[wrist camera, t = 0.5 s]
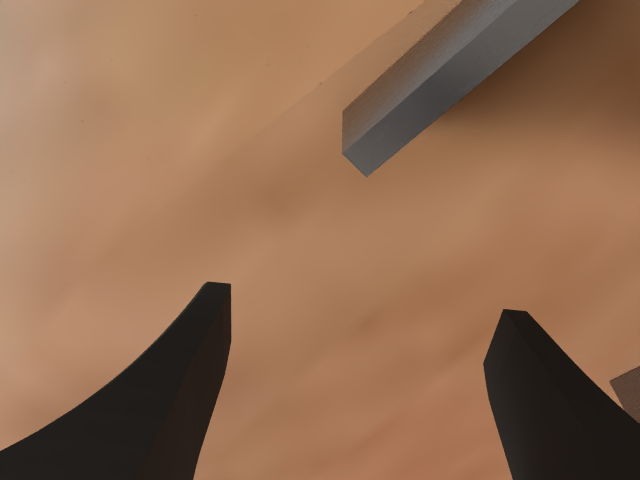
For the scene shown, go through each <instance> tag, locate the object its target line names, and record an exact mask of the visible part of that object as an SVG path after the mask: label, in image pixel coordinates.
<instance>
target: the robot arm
mask: <svg viewBox="0 0 640 480" xmlns="http://www.w3.org/2000/svg"><path fill="white" fill-rule="evenodd" d="M230 345H231V284H228V283H217V282H207V283H205V284H204V285H203V286H202V287H201V289H200V290H199V291H198V293H197V294H196V295H195V297H194V298H193V299H192V300H191V302H190V303H189V304H188V305H187V306H186V308H185V309H184V310H183V311H182V312H181V314H180V315H179V316H178V317H177V318H176V319H175V320H174V321H173V323H172V324H171V325H170V326H169V327H168V328H167V329H166V330H165V331H164V332H163V334H162V335H161V336H160V337H159V338H158V339H157V340H156V341H155V342H154V343H153V344H152V345H151V346H150V347H149V348H148V349H147V350H145V351H144V352H143V353H142V354H141V355H140V356H139V357H138V358H137V359H136V360H135V361H134V362H133V363H132V364H131V365H129V366H128V367H127V368H126V369H125V370H124V371H122V372H121V373H120V374H119V375H118V376H116V377H115V378H114V379H113V380H112V381H110V382H109V383H108V384H107V385H105V386H104V387H103V388H101V389H100V390H99V391H97V392H96V393H95V394H93V395H92V396H91V397H89V398H88V399H87V400H85V401H84V402H82V403H81V404H79V405H78V406H77V407H75V408H74V409H72V410H71V411H69V412H67V413H66V414H64V415H63V416H61V417H60V418H58V419H56V420H55V421H53V422H52V423H50V424H48V425H47V426H45V427H44V428H42V429H40V430H39V431H37V432H35V433H33V434H32V435H30V436H28V437H26V438H24V439H23V440H21V441H19V442H17V443H15V444H13V445H11V446H9V447H7V448H5V449H4V450H2V451H0V480H193V478H194V473H195V469H196V465H197V461H198V457H199V454H200V450H201V447H202V444H203V441H204V438H205V435H206V432H207V429H208V425H209V422H210V419H211V416H212V413H213V410H214V407H215V404H216V401H217V398H218V394H219V391H220V388H221V385H222V382H223V379H224V375H225V370H226V366H227V361H228V355H229V350H230ZM483 365H484V372H485V379H486V386H487V391H488V397H489V401H490V405H491V408H492V412H493V415H494V419H495V422H496V425H497V429H498V432H499V435H500V439H501V442H502V445H503V448H504V452H505V455H506V458H507V462H508V465H509V468H510V471H511V475H512V478H513V480H640V423H638V422H637V421H636V420H635V419H634V418H632V417H631V416H630V415H629V414H628V413H626V412H625V411H624V410H623V409H622V408H621V407H620V406H618V405H617V404H616V403H615V402H614V401H613V400H612V399H611V398H610V397H609V396H608V395H607V394H606V393H604V392H603V391H602V390H601V389H600V388H599V387H598V386H597V385H596V384H595V383H594V382H593V381H592V380H591V379H590V378H589V377H588V376H587V375H586V374H585V373H584V372H583V371H582V370H581V369H580V368H579V367H578V366H577V365H576V364H575V363H574V362H573V361H572V360H571V359H570V358H569V357H568V355H567V354H566V353H565V352H564V351H563V350H562V349H561V348H560V347H559V346H558V345H557V344H556V343H555V341H554V340H553V339H552V338H551V337H550V336H549V335H548V334H547V333H546V332H545V331H544V329H543V328H542V327H541V326H540V325H539V324H538V323H537V322H536V321H535V320H534V319H533V318H532V317H531V315H530V314H529V313H528V312H527V311H518V310H508V309H503V312H502V314H501V317H500V320H499V322H498V325H497V328H496V330H495V333H494V336H493V339H492V341H491V344H490V347H489V349H488V352H487V355H486V357H485V360H484V363H483Z"/></svg>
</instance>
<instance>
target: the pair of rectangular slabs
mask: <svg viewBox="0 0 640 480" xmlns="http://www.w3.org/2000/svg"><path fill="white" fill-rule="evenodd" d="M578 1H580V0H463V1H462V2H461V3H460V4H459V5H457V6H456V7H455V8H454V9H453V10H452V11H451V12H450V13H449V14H448V15H447V16H446V17H444V18H443V19H442V20H441V21H440V22H439V23H438V24H437V25H436V26H435V27H434V28H433V29H431V30H430V31H429V32H428V33H427V34H426V35H425V36H424V37H423V38H422V39H421V40H420V41H418V42H417V43H416V44H415V45H414V46H413V47H412V48H411V49H410V50H409V51H408V52H406V53H405V54H404V55H403V56H402V57H401V58H400V59H399V60H398V61H397V62H396V63H395V64H393V65H392V66H391V67H390V68H389V69H388V70H387V71H386V72H385V73H384V74H383V75H382V76H380V77H379V78H378V79H377V80H376V81H375V82H374V83H373V84H372V85H371V86H370V87H369V88H367V89H366V90H365V91H364V92H363V93H362V94H361V95H360V96H359V97H358V98H357V99H356V100H354V101H353V102H352V103H351V104H350V105H349V106H348V107H347V108H346V109H345V110H344V111H343V127H342V154H343V155H344V156H345V157H346V158H347V159H348V160H349V161H350V162H351V163H352V164H353V165H354V166H355V167H356V168H357V169H358V170H359V171H360V172H361V173H363V174H364V175H365V176H366V177H368V176H369V175H370V174H371V173H372V172H374V171H375V170H376V169H377V168H378V167H380V166H381V165H382V164H383V163H384V162H386V161H387V160H388V159H389V158H390V157H392V156H393V155H394V154H395V153H396V152H398V151H399V150H400V149H401V148H402V147H404V146H405V145H406V144H407V143H409V142H410V141H411V140H412V139H413V138H415V137H416V136H417V135H418V134H419V133H421V132H422V131H423V130H424V129H425V128H427V127H428V126H429V125H430V124H431V123H433V122H434V121H435V120H436V119H437V118H439V117H440V116H441V115H442V114H443V113H445V112H446V111H447V110H448V109H449V108H451V107H452V106H453V105H454V104H455V103H457V102H458V101H459V100H460V99H462V98H463V97H464V96H465V95H466V94H468V93H469V92H470V91H471V90H472V89H474V88H475V87H476V86H477V85H478V84H480V83H481V82H482V81H483V80H484V79H486V78H487V77H488V76H489V75H490V74H492V73H493V72H494V71H495V70H496V69H498V68H499V67H500V66H501V65H502V64H504V63H505V62H506V61H507V60H509V59H510V58H511V57H512V56H513V55H515V54H516V53H517V52H518V51H519V50H521V49H522V48H523V47H524V46H525V45H527V44H528V43H529V42H530V41H531V40H533V39H534V38H535V37H536V36H537V35H539V34H540V33H541V32H542V31H543V30H545V29H546V28H547V27H548V26H549V25H551V24H552V23H553V22H554V21H555V20H557V19H558V18H559V17H560V16H562V15H563V14H564V13H565V12H566V11H568V10H569V9H570V8H571V7H572V6H574V5H575V4H576V3H577V2H578ZM610 384H611V386H612V388H613V389H614V391H615V393H616V395H617V397H618V399H619V401H620V403H621V404H622V406H623V408H624V410H625V412H626V413H628V414H629V415H630V416H631V417H632V418H634V419H635V420H636V421H637V422H638V423H640V367H638V368H636V369H634V370H632V371H630V372H628V373H626V374H624V375H622V376H620V377H618V378H616V379H614V380H612V381H610Z"/></svg>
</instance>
